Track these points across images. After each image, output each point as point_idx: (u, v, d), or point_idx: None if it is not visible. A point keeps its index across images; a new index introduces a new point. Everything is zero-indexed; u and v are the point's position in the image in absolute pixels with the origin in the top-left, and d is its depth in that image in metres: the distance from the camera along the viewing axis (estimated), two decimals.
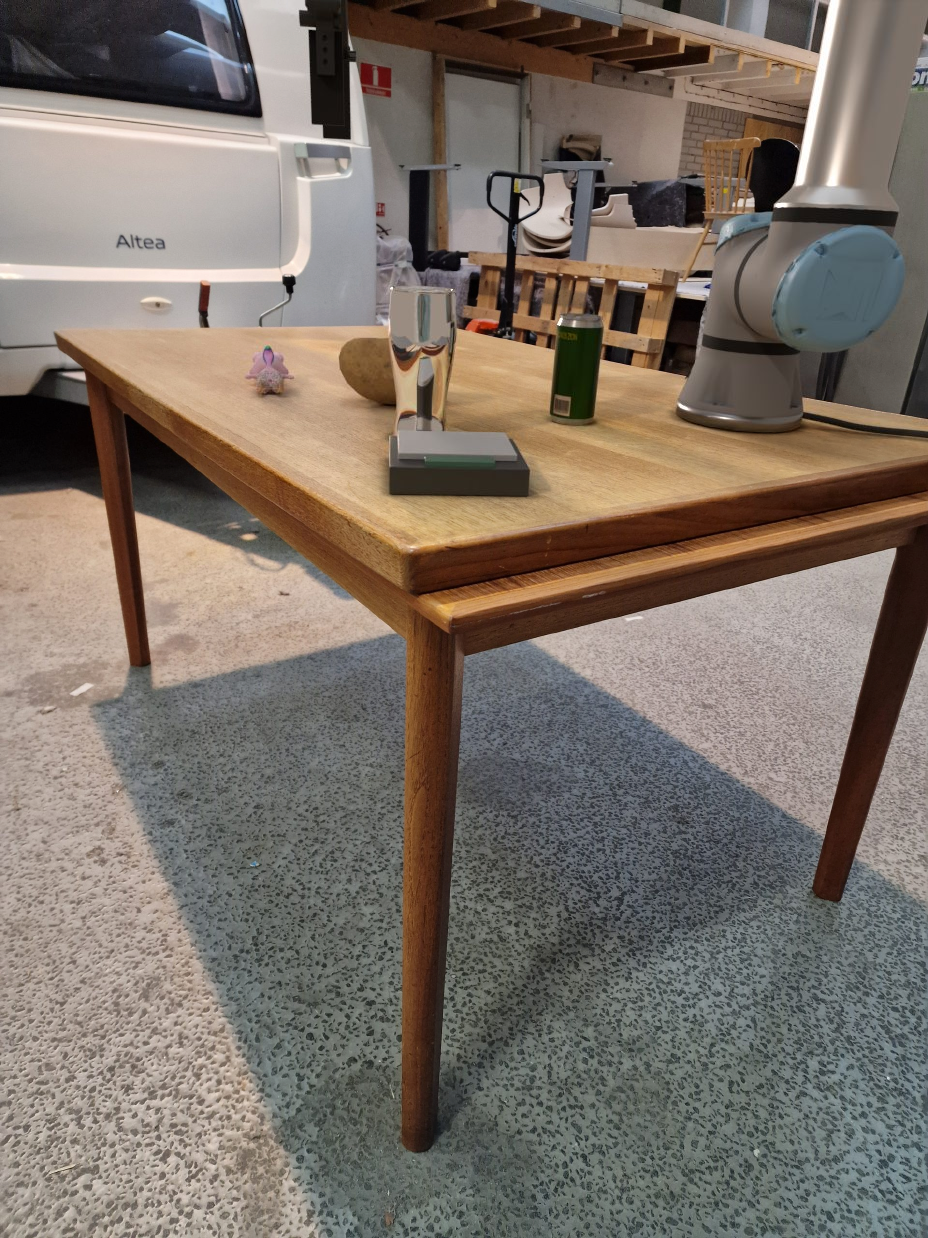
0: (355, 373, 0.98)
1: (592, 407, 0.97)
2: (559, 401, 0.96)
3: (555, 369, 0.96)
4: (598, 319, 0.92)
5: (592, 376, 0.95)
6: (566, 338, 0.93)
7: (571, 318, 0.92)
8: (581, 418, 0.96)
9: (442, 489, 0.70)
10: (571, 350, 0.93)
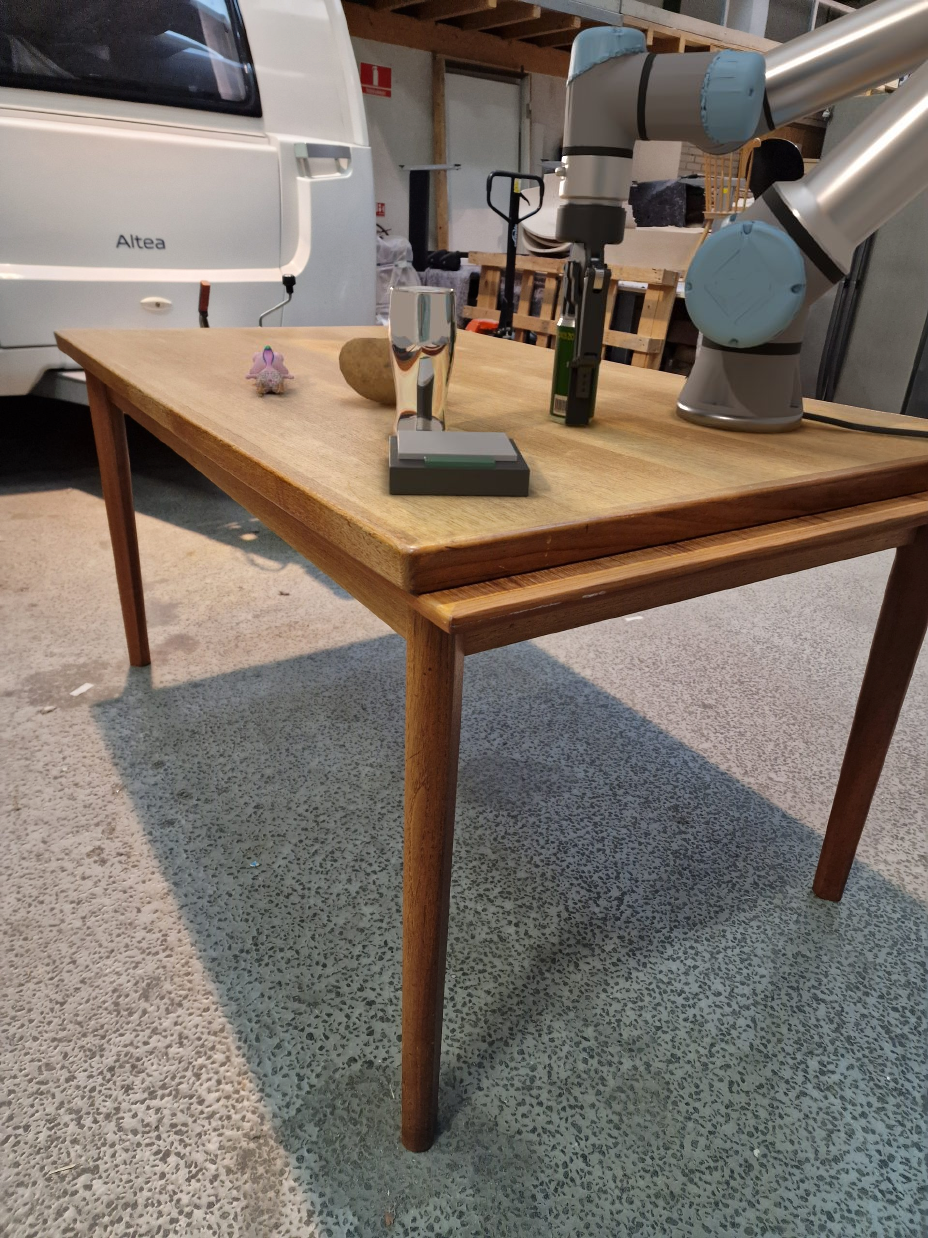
0: (355, 373, 0.98)
1: (592, 407, 0.97)
2: (559, 401, 0.96)
3: (555, 369, 0.96)
4: None
5: None
6: (566, 338, 0.93)
7: (571, 318, 0.92)
8: None
9: (442, 489, 0.70)
10: (571, 350, 0.93)
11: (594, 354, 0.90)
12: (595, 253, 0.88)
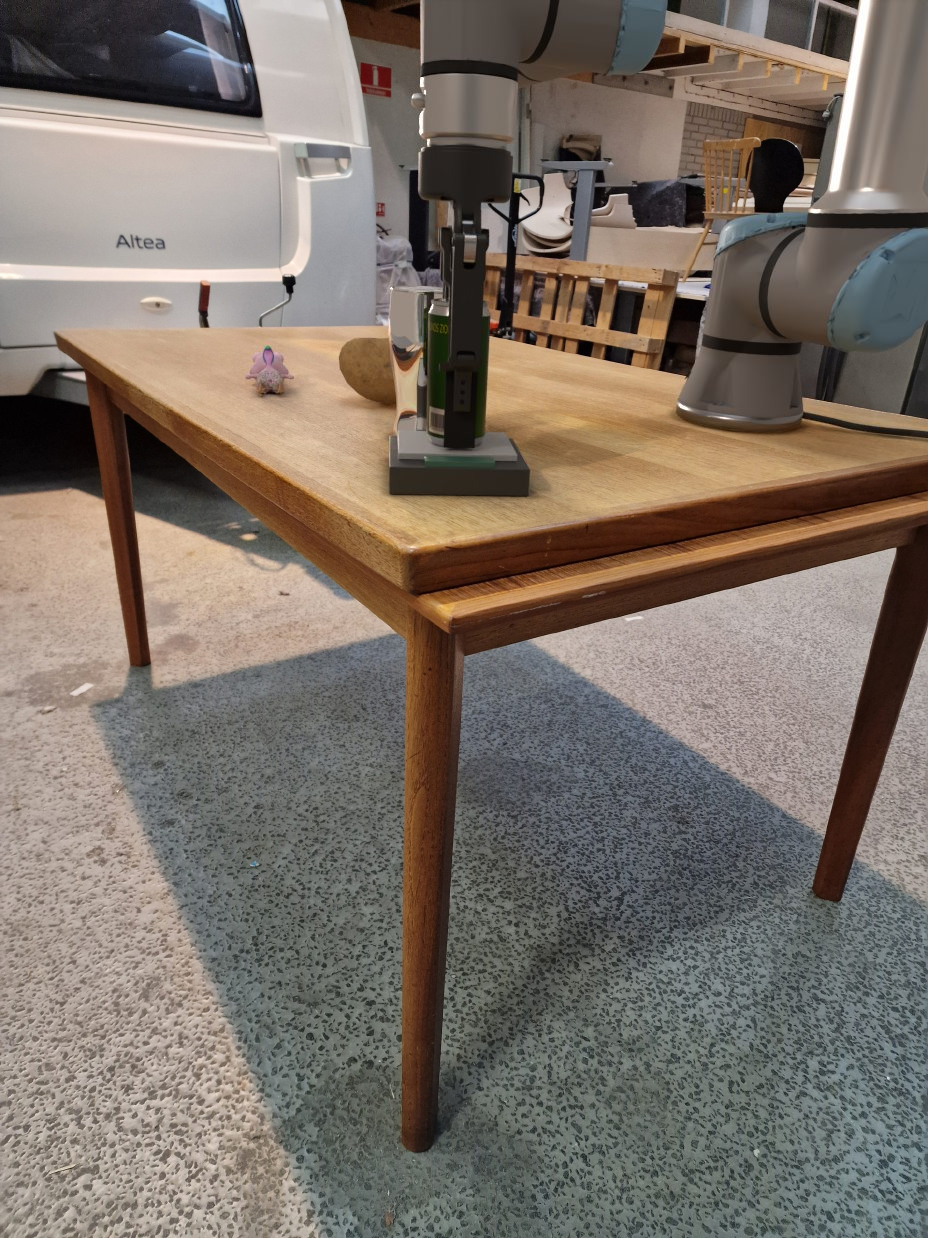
0: (355, 373, 0.98)
1: (480, 423, 0.73)
2: (435, 416, 0.72)
3: (428, 373, 0.71)
4: None
5: (477, 382, 0.71)
6: (438, 331, 0.69)
7: (443, 304, 0.68)
8: None
9: (442, 489, 0.70)
10: (445, 347, 0.69)
11: (471, 353, 0.66)
12: (468, 213, 0.63)
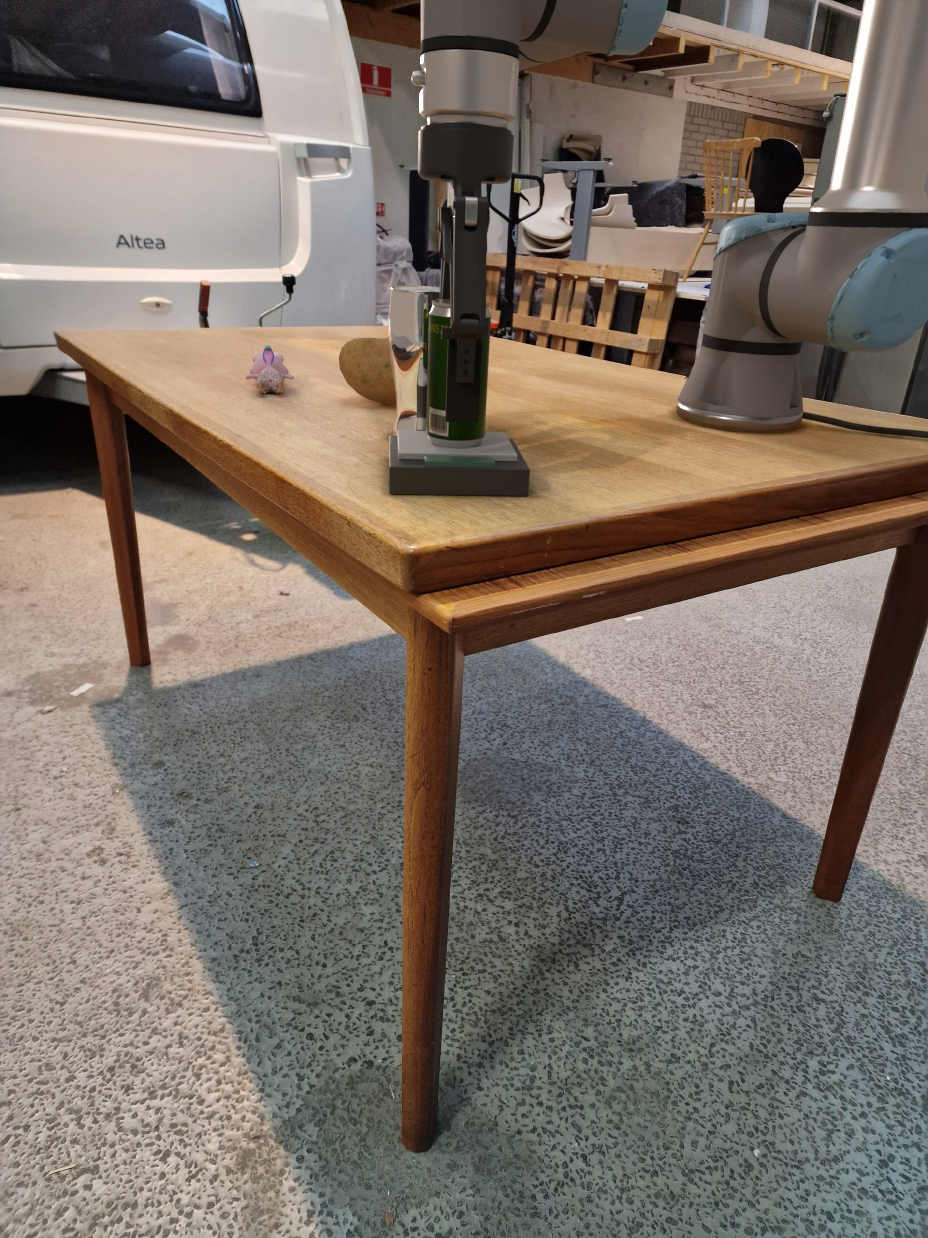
0: (355, 373, 0.98)
1: (480, 424, 0.73)
2: (435, 416, 0.72)
3: (428, 374, 0.71)
4: None
5: None
6: (438, 332, 0.69)
7: (444, 305, 0.68)
8: (464, 439, 0.72)
9: (442, 489, 0.70)
10: (446, 348, 0.69)
11: (476, 319, 0.62)
12: (468, 192, 0.63)
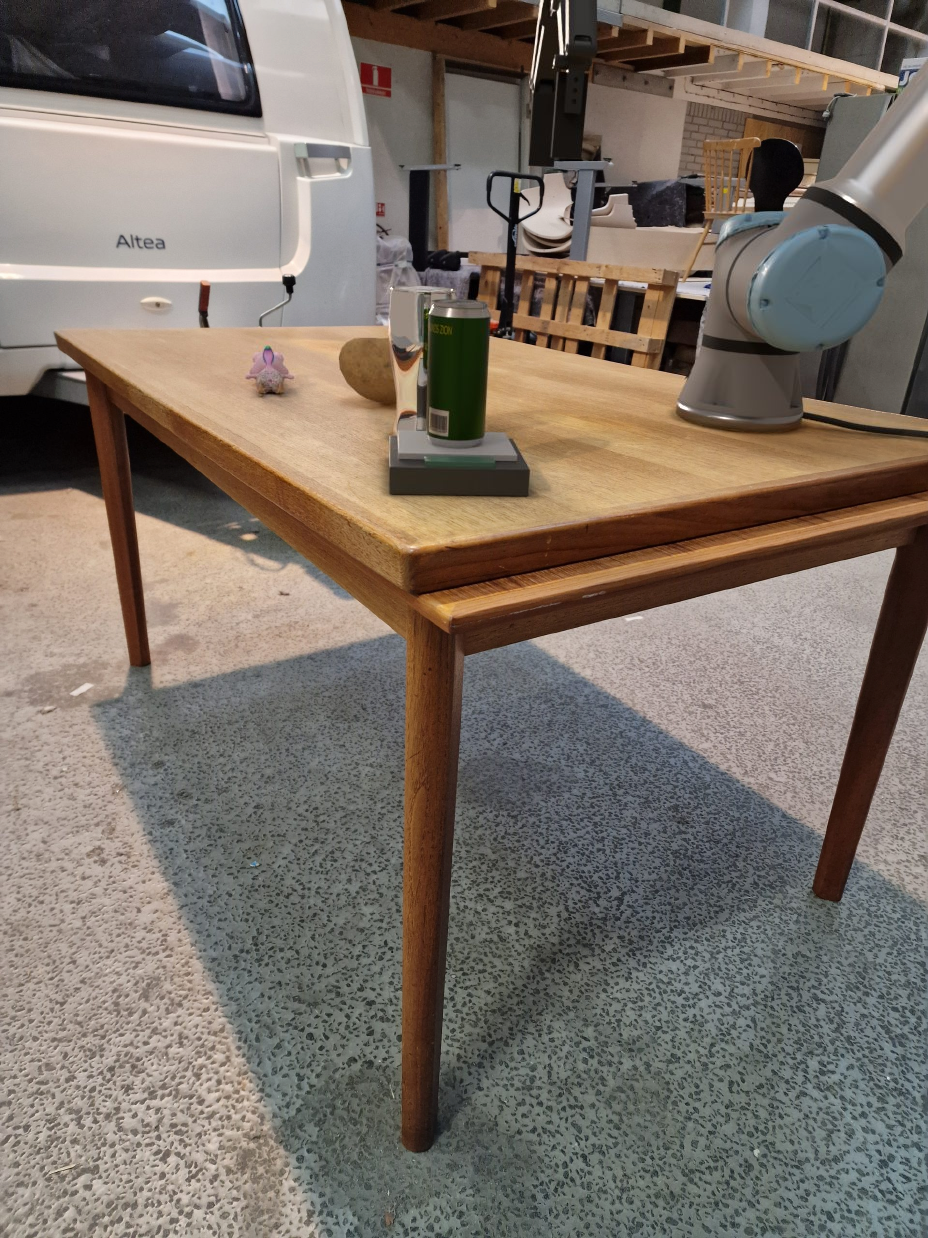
0: (355, 373, 0.98)
1: (480, 424, 0.73)
2: (435, 417, 0.72)
3: (428, 374, 0.71)
4: (481, 306, 0.68)
5: (477, 383, 0.71)
6: (438, 332, 0.69)
7: (443, 305, 0.68)
8: (464, 439, 0.72)
9: (442, 489, 0.70)
10: (445, 348, 0.69)
11: (588, 41, 0.68)
12: None
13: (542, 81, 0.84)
